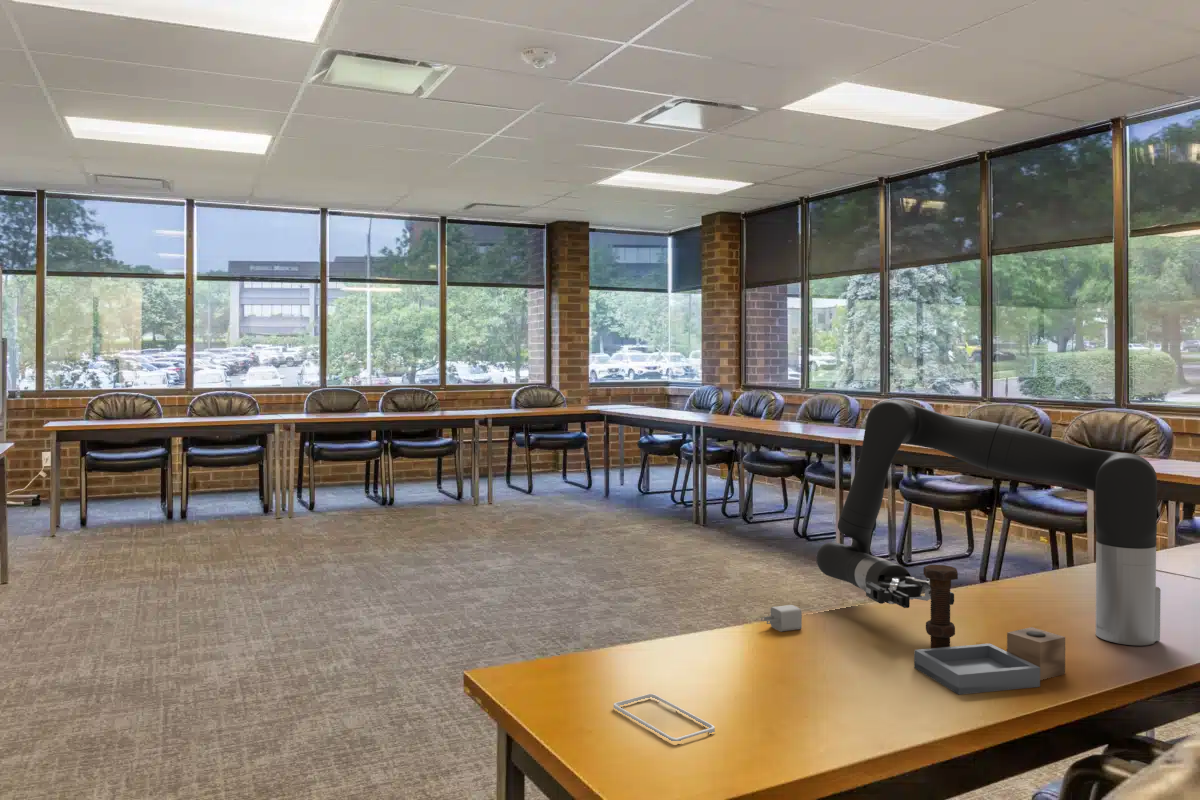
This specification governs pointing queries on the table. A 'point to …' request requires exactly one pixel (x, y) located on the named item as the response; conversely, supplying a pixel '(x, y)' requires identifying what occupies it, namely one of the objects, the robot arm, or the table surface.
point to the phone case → (616, 706)
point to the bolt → (940, 604)
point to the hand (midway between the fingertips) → (930, 600)
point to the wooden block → (1039, 650)
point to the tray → (976, 668)
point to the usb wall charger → (785, 618)
